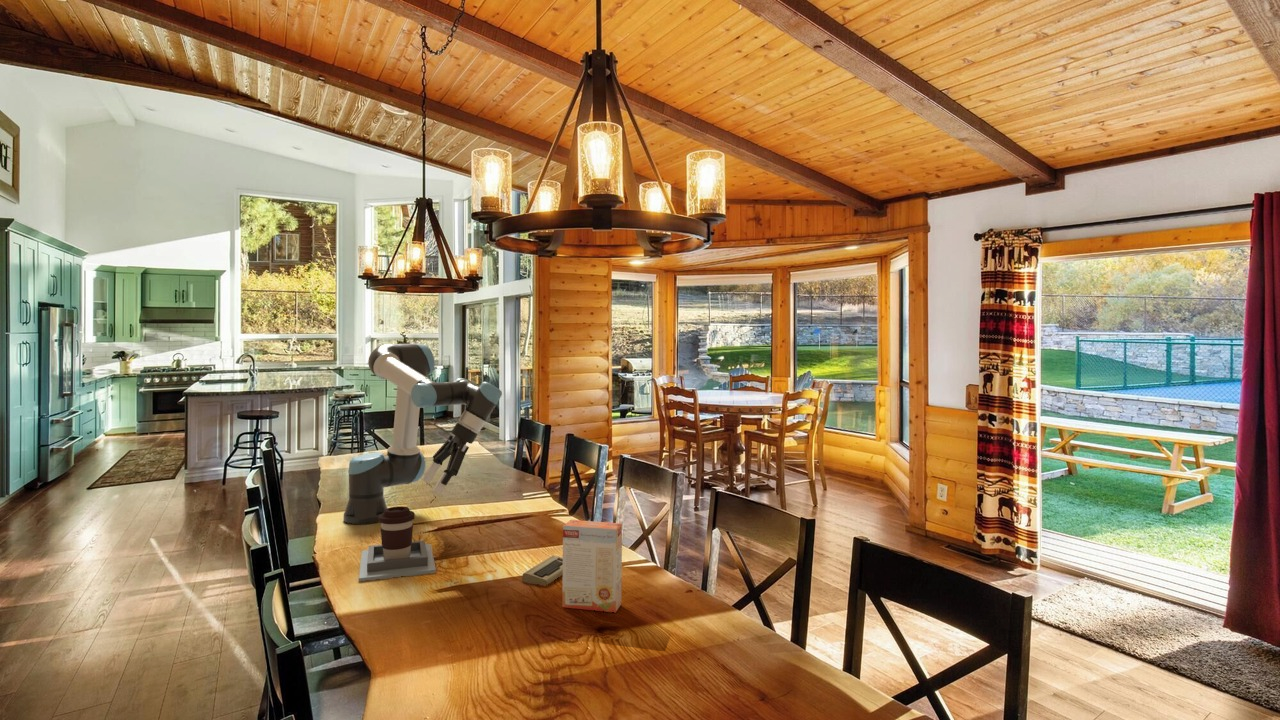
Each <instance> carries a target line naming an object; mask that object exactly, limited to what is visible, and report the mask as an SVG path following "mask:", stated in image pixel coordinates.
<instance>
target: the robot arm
mask: <svg viewBox="0 0 1280 720" xmlns="http://www.w3.org/2000/svg"><path fill="white" fill-rule="evenodd" d="M367 362H368V363H367V364H368V368H369V370H370V371H371V373H372V374H373V375H375V376H376V377H377V378H378V379H381V380H387V381H389V382H391V383H392V384H393V385H395V386H396V398H395V408H394V409H395V410H394V421H393V432H392V444H391V445H390V446H389V447H388V448H387V453H386V455H384V454H383V453H382V452H379V451H378V452H367V453H362V454H359V455H357V456H354V457H352V458H351V459H350V461H349V463H348V470H347V471H348V501H347V504H346V507H345V509H344V512H343V522H344V521H345V522H344V523H346V522H347V524H349V523H352V524H351V525H367V524H368V523H369V524H375V523H380V522H379V515H380V514H382V513H384V510H385V509H387V508H388V505H387V502H386V500H385V497H384V496H385V495H384V488H390V487H396V486H402V485H409V484H412V483H416V482H418V481H419V480H420V479H421V480H422V481H423V482H425V483H427V484H430V483H431V482H432V481H433V479H434V477H435V475H436V474H437V472H438V471H439V469H440V468H441V466H442V465H443V462H444V461H445V460H447V459H448V458H449V461H448V462H447V465H446V466H447V467H446V469H444V470H443V473H442V474H441V476H440V478H439V479H438V481H437V482H436V484H435V485H434V487H433V489H432V490H431V491H432V492H433V493H434V494H437V495H439V496H441V495H442V494H443V492H444V490H445V489H446V487H447V486H448V485H449V482H450V481H451V480H452V478H453V477H454V476H455V477H457V475H458V473H459V471H460V470H461V469H460V468H461V466H462V463H463V460H464V459H465V456H466V454H467V452H468V450H469V448H470V447H469V446H468V445H467V444H473V443H474V441H475V440H476V438H477V437H478V433H479V432H481V430H482V429H483V428H484V427H485V423H486V422H487V420H488V419H489V417H490V416H491V414H492V412H493V411H494V410H495V408H496V407H497V405H498V404H499V401H500V400H501V398H502V395H503V392H502V390H501V389H499V388H498V387H497V386H495V385H493V384H491V383H489V382H488V381H483V382H481V384H480V385H479V384H476V382H475V383H474V382H473V381H472V380H469V379H466V378H464V377H463V378H462V377H459V378H456V379H455V380H453V381H445V382H444V381H443V382H441V381H439V382H436V381H434V380H432V379H430V378H429V377H428V376H430V375H432V374H433V373H434V370H435V365H436V364H435V357H434V353H433V351H432V349H430V347H429V346H427V345H426V344H423V343H422V344H421V343H420V344H419V343H384V344H382V345H379V346H377V347H376V348H374V349H373V350H372V352H371V353H369V357H368V361H367ZM457 405H458V406H459V405H465V406H467V407H466V408H465V409H464V411H463V412H462V414H461V415H460V417H459V418H458V422H457V423H455V425H454V427H453V428H452V430H451V434H453V435H454V436H453V435H449V437H448V438H447V440H446V441H445V442H444V443H443V444H442V445H441V447H440V448H439V449H438V450H437V451H436V452H435V453H434V454H433V455H432V462H431V464H430V465H429V467H428V468H427V470H426V472H425V469H426V461H425V459H426V458H425V455H424V454H423V453H422V452H421V449H420V448H419V447H418V446H417V441H418V430H419V421H420V420H419V418H420V410H421V409H420V408H431V407H441V406H442V407H443V406H457ZM366 523H367V524H366ZM369 524H368V525H369Z"/></svg>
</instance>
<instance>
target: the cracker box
mask: <svg viewBox="0 0 1280 720" xmlns="http://www.w3.org/2000/svg"><path fill="white" fill-rule="evenodd" d="M622 554H623V524H622V523H619V522H607V521H591V520H580V519H579V520H578V519H570V520H569V521H567V522H565V524H564V525H562V558H563V575H562V591H561V592H562V593H561V594H562V597H561V598H562V608H568V609H577V610H585V611H594V610H595V611H594V612H603V611H604V613H605V612H606V613H612V612H614V614H615V613H617V611H619V609H620V606H621V605H622V587H623V586H622V585H623V584H622V583H623V582H622V578H623V577H622V576H623V575H622V574H623V573H622V572H623V570H622V569H623V567H622V566H623V565H622V564H623V562H622V561H623V560H622V559H623V557H622V556H623V555H622Z"/></svg>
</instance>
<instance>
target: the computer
mask: <svg viewBox="0 0 1280 720" xmlns="http://www.w3.org/2000/svg"><path fill="white" fill-rule="evenodd" d="M561 575H562V576H563V556H558V555H551V556H549V557H547V558H546V559H544V560H543V561H541V562H539V563H537V564H535V566H533V567H531V568H530V569H528V570H526V571H525V572H523V573H522V575H521V581H522V583H526V582H527V584H531V583H532V585H537V584H540V585H539V586H542V585H547V586H549V585H550V584H552V583H553V582H555V581H556V580H558V579H559V578H561V577H562V576H561ZM560 576H561V577H560ZM558 577H559V578H558ZM557 578H558V579H557ZM555 579H556V580H555ZM554 580H555V581H554ZM552 581H553V582H552ZM551 582H552V583H551ZM549 583H550V584H549ZM548 584H549V585H548Z"/></svg>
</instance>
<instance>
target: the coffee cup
mask: <svg viewBox="0 0 1280 720" xmlns="http://www.w3.org/2000/svg"><path fill="white" fill-rule="evenodd" d="M415 515H416V514H415V511H412V510H411V509H410V508H409V507H408V506H403V505H401V506H400V505H399V506H391V507H387V509H385V510H384V513H382V514H380V515H379V522H378V523H380V539H381V545H382V548H383V556H384V560H388V559H398V558H407V557H410V551H411V544H412V542H413V532H414V529H413V527H414V525H413V521H414V520H415V519H416V518H415Z"/></svg>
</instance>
